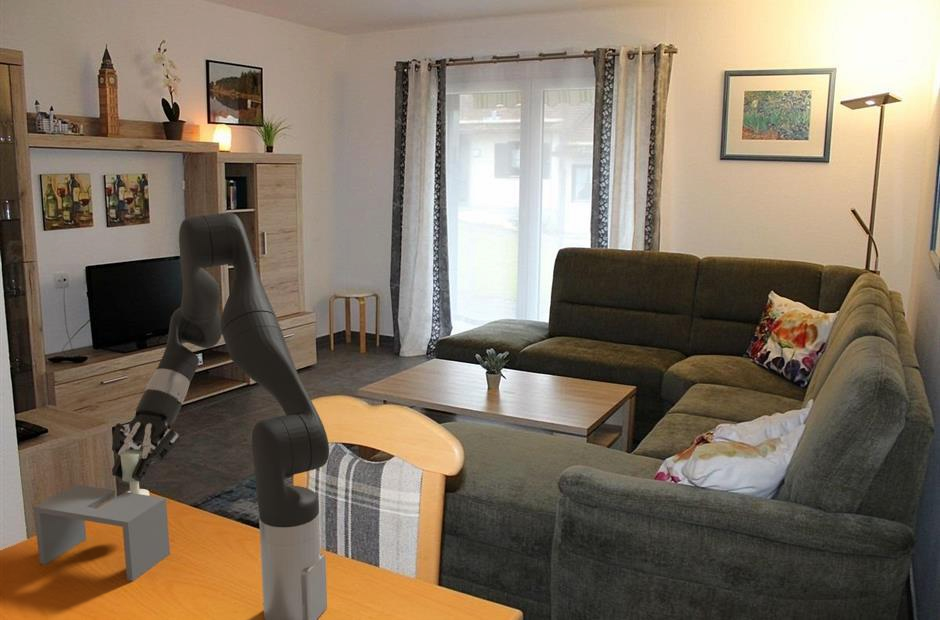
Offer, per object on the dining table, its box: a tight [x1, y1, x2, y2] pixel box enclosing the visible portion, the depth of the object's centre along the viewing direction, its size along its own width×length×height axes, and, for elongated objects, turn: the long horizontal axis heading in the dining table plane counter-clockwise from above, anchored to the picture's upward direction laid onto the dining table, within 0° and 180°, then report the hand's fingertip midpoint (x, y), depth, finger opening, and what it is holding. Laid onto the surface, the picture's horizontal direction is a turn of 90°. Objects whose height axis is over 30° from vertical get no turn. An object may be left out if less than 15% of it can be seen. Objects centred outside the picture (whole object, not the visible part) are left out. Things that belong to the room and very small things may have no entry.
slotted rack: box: [33, 483, 171, 582], centre depth 144 cm, size 20×10×11 cm, turn 73°
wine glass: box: [120, 449, 151, 496], centre depth 151 cm, size 5×5×10 cm
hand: (126, 477), depth 149 cm, fingers closed on wine glass, 3 cm apart
